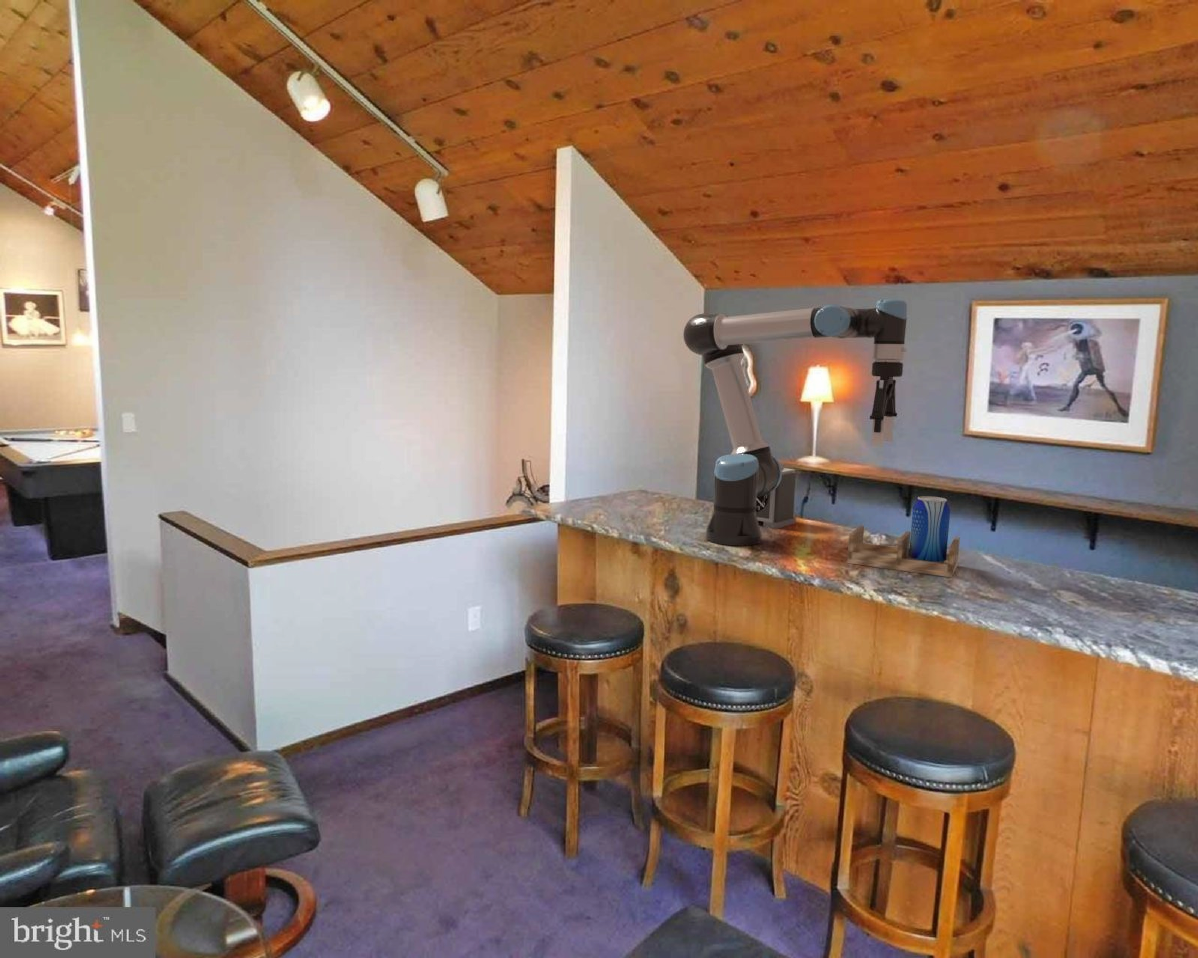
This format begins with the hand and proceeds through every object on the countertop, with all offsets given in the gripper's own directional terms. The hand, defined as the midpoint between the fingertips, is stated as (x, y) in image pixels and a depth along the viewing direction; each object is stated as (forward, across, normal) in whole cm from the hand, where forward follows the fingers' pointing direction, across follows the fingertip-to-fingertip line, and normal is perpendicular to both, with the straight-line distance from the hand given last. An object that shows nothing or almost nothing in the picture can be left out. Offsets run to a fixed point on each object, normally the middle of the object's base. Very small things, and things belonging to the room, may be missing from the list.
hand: (881, 443), depth 210 cm
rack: (+29, -12, -9) cm, 32 cm away
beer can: (+28, -12, -15) cm, 34 cm away
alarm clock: (+29, +20, +38) cm, 52 cm away
